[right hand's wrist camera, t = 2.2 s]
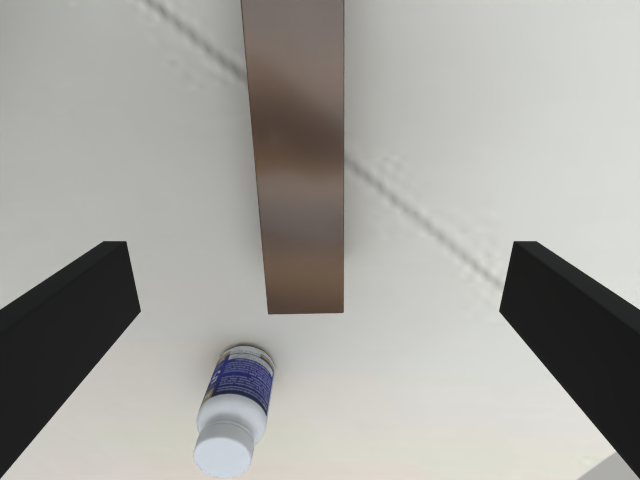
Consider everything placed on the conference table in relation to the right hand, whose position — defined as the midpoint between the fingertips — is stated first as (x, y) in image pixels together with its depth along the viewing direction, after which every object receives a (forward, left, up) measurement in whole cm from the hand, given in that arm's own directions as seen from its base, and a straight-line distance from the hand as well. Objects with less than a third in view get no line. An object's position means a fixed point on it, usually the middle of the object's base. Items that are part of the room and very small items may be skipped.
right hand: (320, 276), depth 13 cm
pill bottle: (-9, -16, -15) cm, 24 cm away
